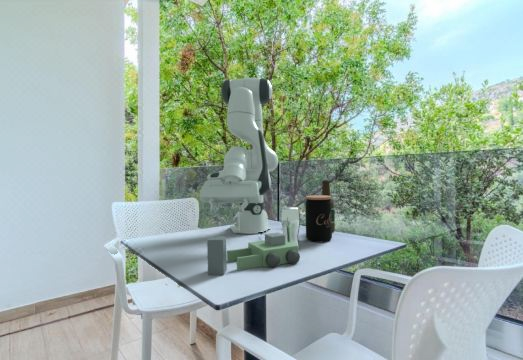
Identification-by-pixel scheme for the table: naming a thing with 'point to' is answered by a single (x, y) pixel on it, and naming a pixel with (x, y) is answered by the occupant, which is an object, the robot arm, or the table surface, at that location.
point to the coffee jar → (318, 218)
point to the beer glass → (291, 224)
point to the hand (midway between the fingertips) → (226, 211)
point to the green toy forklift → (265, 253)
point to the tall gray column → (217, 255)
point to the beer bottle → (327, 192)
